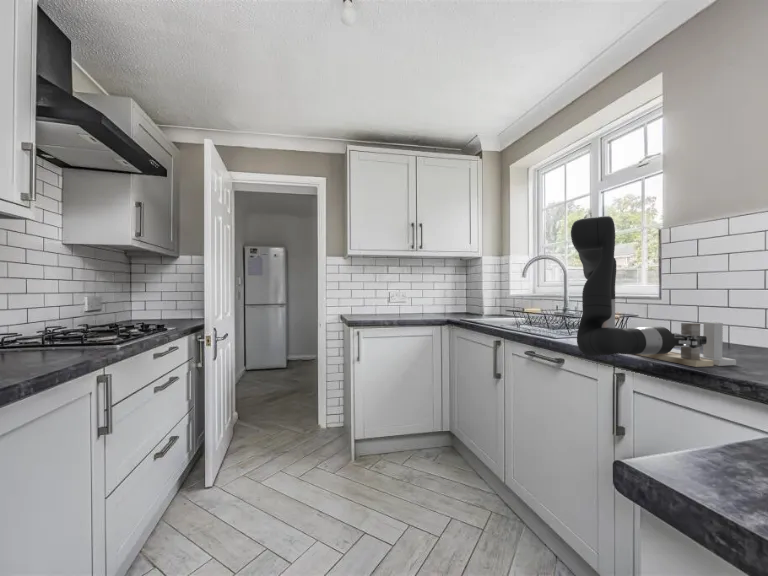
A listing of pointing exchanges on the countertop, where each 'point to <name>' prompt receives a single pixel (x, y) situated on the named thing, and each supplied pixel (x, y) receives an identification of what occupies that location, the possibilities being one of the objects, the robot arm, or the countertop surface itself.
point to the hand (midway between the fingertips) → (698, 339)
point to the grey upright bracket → (712, 345)
